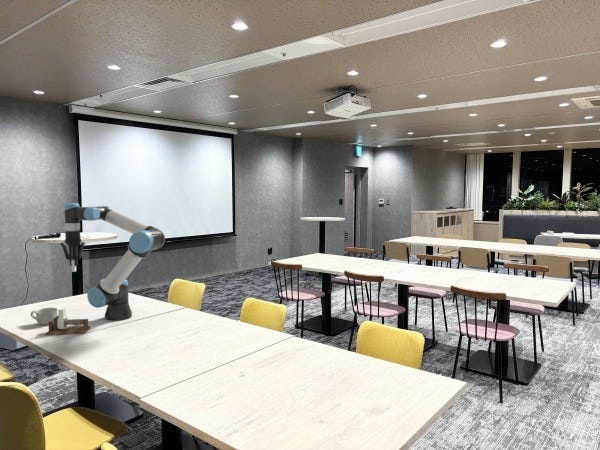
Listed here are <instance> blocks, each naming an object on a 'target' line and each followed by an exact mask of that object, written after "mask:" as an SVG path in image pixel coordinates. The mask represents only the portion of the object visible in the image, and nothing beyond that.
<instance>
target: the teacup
mask: <svg viewBox="0 0 600 450" xmlns="http://www.w3.org/2000/svg"><path fill="white" fill-rule="evenodd" d="M58 310H59V308H57V307H43V308H40V309H37V310H32V311H31V312H30V317H31V318H32V319H33V320H35V321H36V323H37V324H39V325H41V326H49V325H48V322H49V321H50V320H54V318H55V317H57V316H58ZM34 314H35V315H34Z"/></svg>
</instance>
